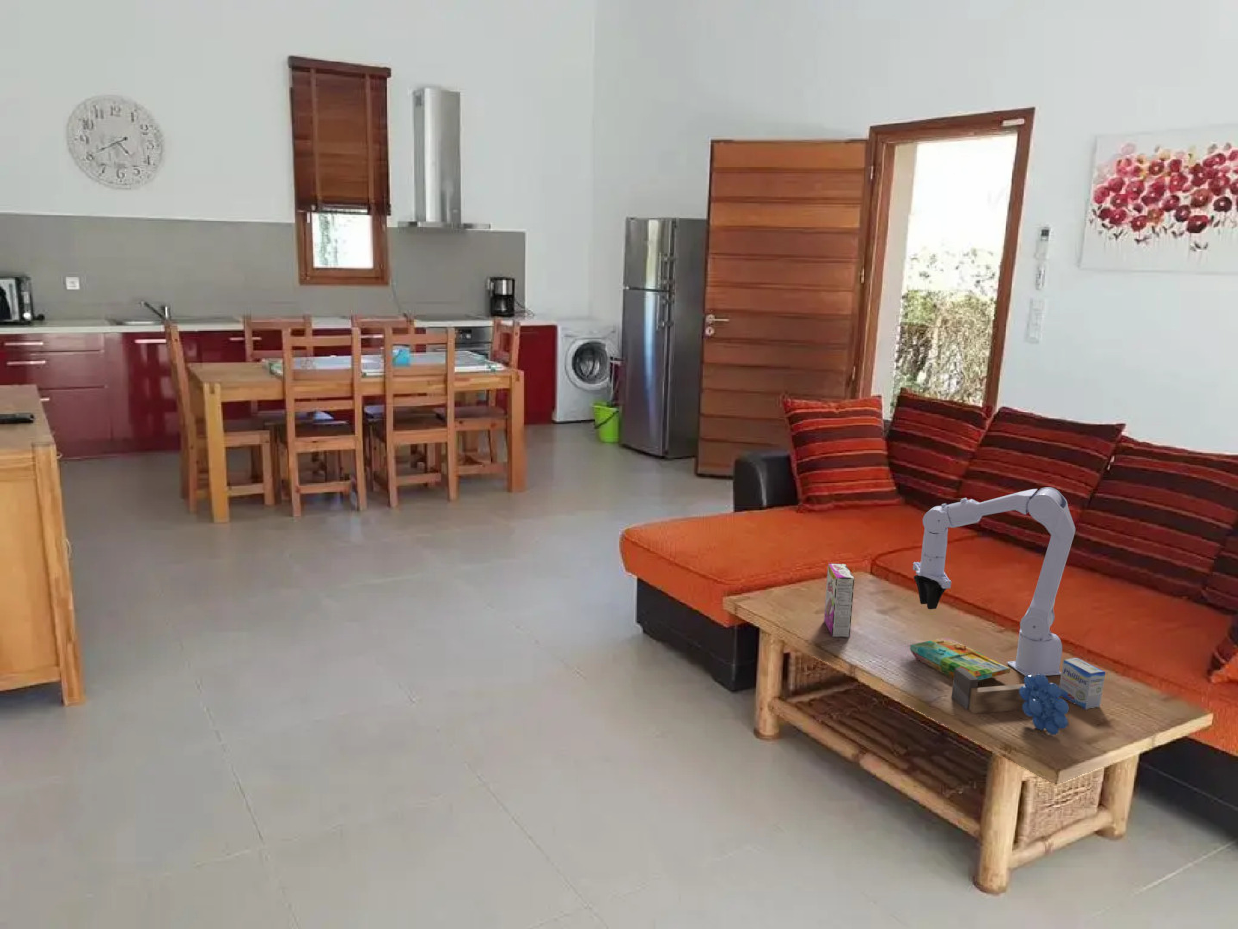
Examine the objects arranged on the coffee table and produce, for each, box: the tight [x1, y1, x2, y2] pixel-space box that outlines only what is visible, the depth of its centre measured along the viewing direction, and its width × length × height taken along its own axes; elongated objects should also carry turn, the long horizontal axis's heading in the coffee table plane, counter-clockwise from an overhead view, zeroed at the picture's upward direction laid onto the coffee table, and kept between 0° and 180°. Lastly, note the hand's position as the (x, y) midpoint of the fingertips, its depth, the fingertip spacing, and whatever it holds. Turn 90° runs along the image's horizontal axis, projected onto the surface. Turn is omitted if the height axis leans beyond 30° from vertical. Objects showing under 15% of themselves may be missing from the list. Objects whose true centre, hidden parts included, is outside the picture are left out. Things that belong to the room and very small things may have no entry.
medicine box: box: [1058, 657, 1106, 710], centre depth 215 cm, size 8×4×9 cm, turn 22°
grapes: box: [1019, 674, 1070, 736], centre depth 200 cm, size 12×7×12 cm, turn 30°
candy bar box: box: [823, 563, 855, 638], centre depth 251 cm, size 11×5×16 cm, turn 179°
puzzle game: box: [909, 636, 1011, 681], centre depth 230 cm, size 12×5×20 cm
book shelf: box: [951, 668, 1054, 715], centre depth 213 cm, size 20×8×7 cm, turn 103°
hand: (928, 606), depth 242 cm, fingers open, 3 cm apart
